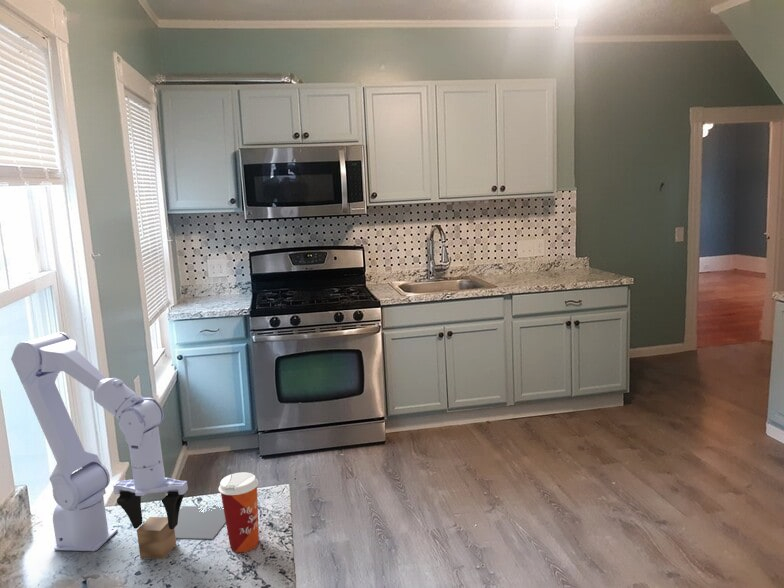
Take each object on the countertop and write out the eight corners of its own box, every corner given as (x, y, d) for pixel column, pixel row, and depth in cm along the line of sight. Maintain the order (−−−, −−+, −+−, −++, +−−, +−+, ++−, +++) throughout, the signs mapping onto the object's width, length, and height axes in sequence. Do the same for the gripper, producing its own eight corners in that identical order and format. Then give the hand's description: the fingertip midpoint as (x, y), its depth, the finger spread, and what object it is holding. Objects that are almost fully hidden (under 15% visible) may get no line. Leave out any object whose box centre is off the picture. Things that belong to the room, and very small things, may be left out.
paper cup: (254, 556, 119) (247, 489, 117) (218, 554, 121) (210, 487, 118) (270, 535, 127) (264, 471, 124) (235, 532, 128) (229, 469, 126)
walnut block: (140, 558, 121) (136, 530, 120) (153, 544, 126) (149, 516, 125) (164, 558, 120) (160, 530, 119) (176, 544, 125) (172, 517, 124)
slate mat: (153, 538, 128) (153, 537, 128) (183, 506, 141) (183, 506, 141) (212, 539, 126) (212, 538, 126) (237, 507, 139) (237, 506, 139)
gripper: (100, 471, 117) (110, 536, 119) (171, 471, 115) (180, 537, 117) (121, 455, 124) (130, 517, 126) (189, 455, 122) (196, 518, 124)
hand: (155, 526), depth 122 cm, fingers open, 7 cm apart
